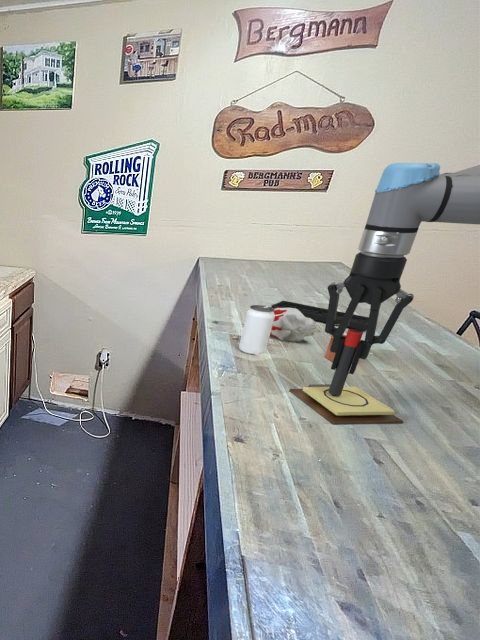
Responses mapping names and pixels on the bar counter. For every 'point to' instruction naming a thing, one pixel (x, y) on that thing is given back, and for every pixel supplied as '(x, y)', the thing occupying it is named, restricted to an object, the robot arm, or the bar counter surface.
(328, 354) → the pen cup
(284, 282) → the bar counter surface
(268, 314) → the can
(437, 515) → the bar counter surface
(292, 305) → the black long bar
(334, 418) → the clipboard
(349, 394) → the notepad
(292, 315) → the grey lumpy piece
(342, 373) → the marker
